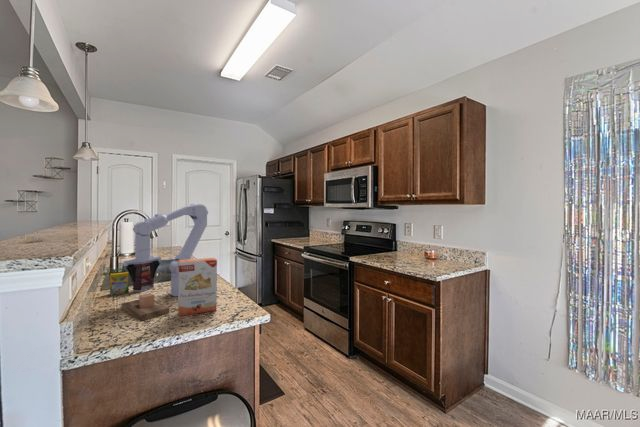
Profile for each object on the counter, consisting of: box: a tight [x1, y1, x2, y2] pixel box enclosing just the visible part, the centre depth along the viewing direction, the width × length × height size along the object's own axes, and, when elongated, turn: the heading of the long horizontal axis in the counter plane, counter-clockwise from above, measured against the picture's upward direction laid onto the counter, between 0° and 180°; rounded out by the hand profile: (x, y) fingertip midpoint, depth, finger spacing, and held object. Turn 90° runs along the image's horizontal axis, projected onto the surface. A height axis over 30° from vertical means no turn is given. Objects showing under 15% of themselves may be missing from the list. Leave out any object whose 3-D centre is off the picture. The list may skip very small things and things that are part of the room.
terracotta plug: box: [138, 292, 155, 309], centre depth 121 cm, size 4×4×6 cm
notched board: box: [120, 299, 170, 321], centre depth 120 cm, size 10×20×2 cm, turn 52°
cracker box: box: [177, 257, 218, 317], centre depth 119 cm, size 14×6×21 cm, turn 117°
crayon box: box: [109, 267, 130, 296], centre depth 142 cm, size 7×3×12 cm, turn 126°
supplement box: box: [132, 262, 155, 293], centre depth 149 cm, size 9×5×16 cm, turn 168°
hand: (143, 279), depth 131 cm, fingers open, 7 cm apart
